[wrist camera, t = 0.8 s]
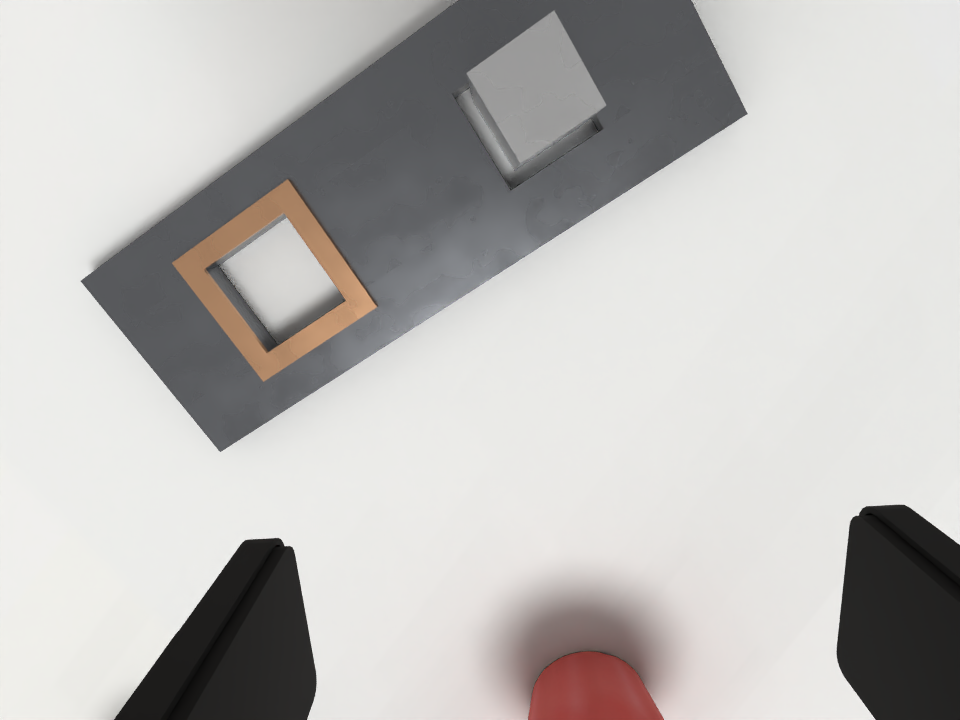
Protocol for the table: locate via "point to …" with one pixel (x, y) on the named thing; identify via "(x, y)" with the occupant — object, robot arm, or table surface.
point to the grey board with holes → (403, 200)
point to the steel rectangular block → (534, 91)
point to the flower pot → (591, 690)
